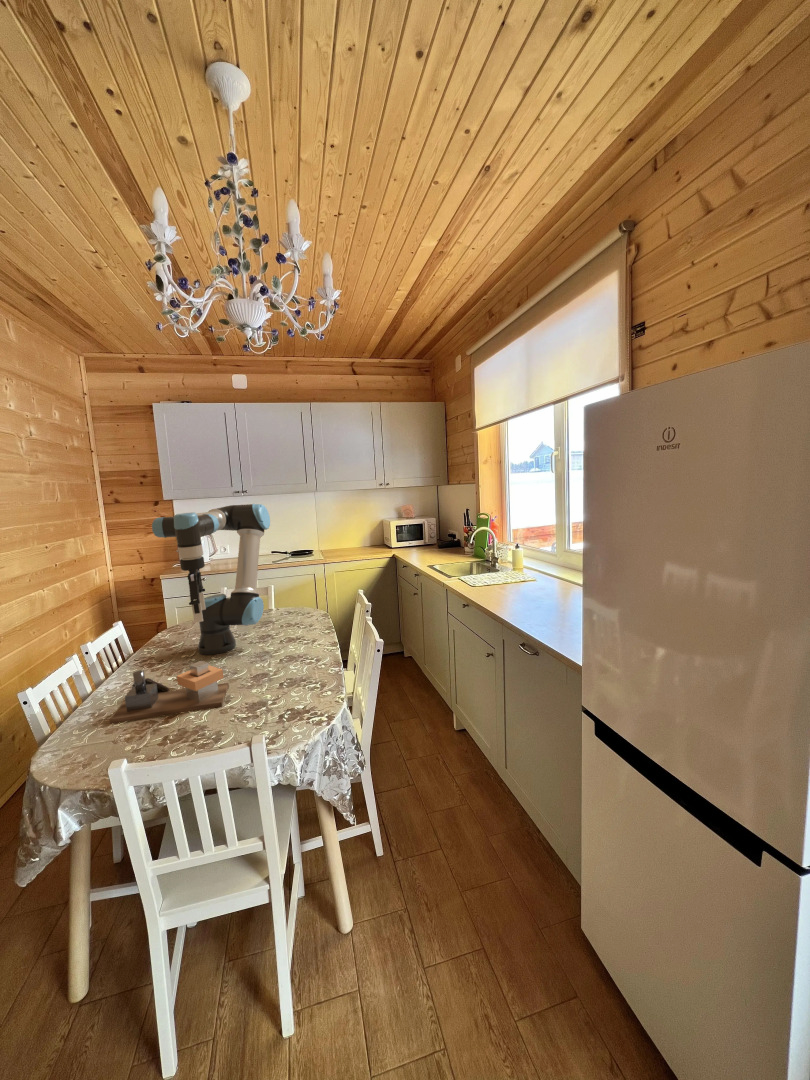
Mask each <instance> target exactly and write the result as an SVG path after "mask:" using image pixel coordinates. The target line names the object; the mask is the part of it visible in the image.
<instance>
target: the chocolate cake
mask: <svg viewBox="0 0 810 1080" xmlns="http://www.w3.org/2000/svg"><path fill="white" fill-rule="evenodd" d="M145 683H146V685H148V684H155V683H156V684H157V691H158V693H162V692H169V691H170V688H169V687H168V686H167V685H165V684H163V683H162V682H158V681H155V680H154V679H153V678H148V677H147V678H146V677H145ZM134 686H135V684H134V683H133V684H132V686H131V688H132V687H134Z"/></svg>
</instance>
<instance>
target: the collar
mask: <svg viewBox="0 0 810 1080" xmlns="http://www.w3.org/2000/svg"><path fill="white" fill-rule="evenodd" d="M208 667H209V672H208V673H206V674H204V675H202V676H199V677H194V676H191V673H190V669H189V670H187V671H185V672H183V673H180V674H178V675H176V681H177V685H178V686H180V687H184V688H185V687H186V688H189V689H191V690H194V691H197V690H199V689H201V688H203V687H206V686H208V685H210V684H212V683H214V682H216V681H217V682H218V681H220V680H223V679H224V677H225V676H224V670H223V668H219V667H215V666H212V665H210V664H208Z"/></svg>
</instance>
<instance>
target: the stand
mask: <svg viewBox="0 0 810 1080" xmlns="http://www.w3.org/2000/svg"><path fill="white" fill-rule="evenodd" d="M132 677H133V684H135V686H134V687H132V686H131V688H130V690H129V691H128V692H127V693H126V695H125V696H124V701H125V702H126V708H127V712H128V711H135V710H141V709H148V708H152V706H153V705H154V703H155V702H156V700H157V699H158V690H157V684H156V683H155V684H148V685H146V683H145V679H146V677H145V671H144V670H142V669H141V670H137V671H136V670H135V671H134V672H133V673H132Z"/></svg>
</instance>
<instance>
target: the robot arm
mask: <svg viewBox="0 0 810 1080" xmlns="http://www.w3.org/2000/svg"><path fill="white" fill-rule="evenodd" d="M270 526H271V517H270V513H269V511H268V509H267V507H266V506H265V505H263V504H262V503H261V504H260V503H252V504H251V503H250V504H249V503H248V504H232V505H225V506H221V507H217V508H213V509H211V510H208V511H207V512H206V511H205V512H197V513H196V512H183V513H177V514H175V515H173V516H162V517H161V516H160V517H156V518H155V519H153V520H152V524H151V531H152V534H153V535H154V536H155V537H156V538H164V539H166V538H176V543H177V549H176V550H175V551H176V553H178V557H179V559H180V560H179V564H180V565H179V566H180V570H182V571H185V572H186V571H188V573H187V574H188V575H187V580H188V588H189V599H190V600H189V601H190V602H188V605H189V606H191V609H192V614H193V622H194V624H195V623H199V629H200V635H199V641H198V644H197V645H198V646H197V649H198V653H199V654H200V655H202V656H211V655H219V654H223V653H226V652H229V651H231V650H233V649H234V648H235V647H236V646H237V644H236V642H237V640H236V638H235V637H234V635H233V632H232V630H231V627H230V626H245V627H246V626H252V625H253V626H254V625H256V624H258V623H259V621H260V620H261V619H262V616H263V613H264V608H265V607H264V606H265V605H264V600H263V598H262V597H260V593H259V592H258V590H257V581H258V569H259V559H260V558H259V557H260V547H261V546H260V545H261V544H260V543H261V538H262V537H263V536H264V535H265V530H268V529H270ZM217 531H236V533H237V534H238V535H239V545H238V552H237V553H238V554H237V563H236V564H237V567H236V573H235V574H236V577H235V584H234V587H235V588H234V589H233V590H232V591H231V592H230V597H228V598H227V594H225V593H220V594H213V595H210V596H206V597H205V596H204V595H205V594H204V593H205V592H206V589H205V588H204V586H203V582H202V572H200V570H201V569H203V568H204V567H205V558H204V556H203V555H204V551H203V544H202V539H201V538H202V537H206V536H210V535H213V534H215V533H216V532H217Z"/></svg>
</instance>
